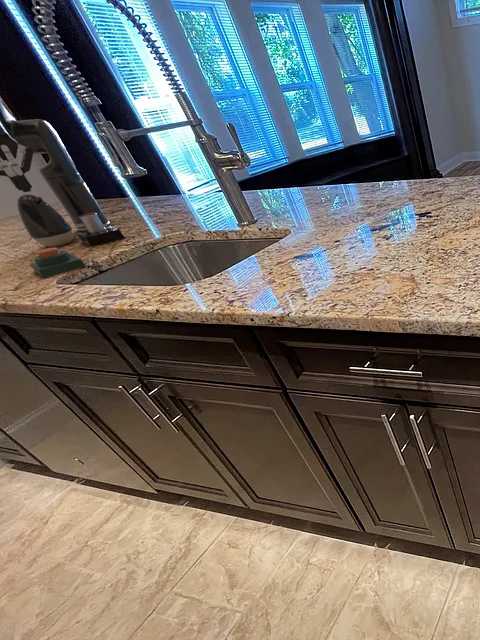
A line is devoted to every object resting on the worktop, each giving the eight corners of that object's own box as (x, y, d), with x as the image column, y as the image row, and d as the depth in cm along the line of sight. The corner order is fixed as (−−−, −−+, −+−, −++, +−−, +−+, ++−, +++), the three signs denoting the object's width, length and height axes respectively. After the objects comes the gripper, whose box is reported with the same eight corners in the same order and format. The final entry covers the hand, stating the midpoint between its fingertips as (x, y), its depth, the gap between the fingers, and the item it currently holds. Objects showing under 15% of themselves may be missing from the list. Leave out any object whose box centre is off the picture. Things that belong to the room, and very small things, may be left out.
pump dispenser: (55, 249, 132) (18, 198, 123) (31, 249, 134) (-7, 199, 125) (87, 239, 140) (55, 190, 131) (64, 239, 142) (30, 191, 133)
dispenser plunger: (39, 257, 113) (35, 251, 112) (58, 253, 116) (54, 246, 115) (43, 260, 111) (38, 253, 110) (62, 255, 114) (57, 248, 113)
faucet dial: (91, 233, 133) (79, 216, 130) (87, 232, 135) (76, 214, 132) (107, 230, 136) (97, 212, 133) (103, 228, 138) (93, 211, 135)
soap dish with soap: (35, 271, 115) (24, 257, 113) (75, 261, 121) (66, 247, 119) (44, 278, 110) (32, 263, 108) (86, 266, 116) (76, 252, 114)
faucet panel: (82, 242, 137) (75, 232, 135) (114, 234, 143) (109, 225, 141) (91, 247, 132) (84, 236, 130) (125, 238, 138) (118, 228, 136)
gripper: (5, 110, 106) (54, 184, 117) (-71, 117, 98) (-10, 196, 108) (11, 110, 102) (62, 186, 113) (-67, 117, 94) (-4, 199, 105)
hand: (27, 191), depth 111 cm, fingers closed
